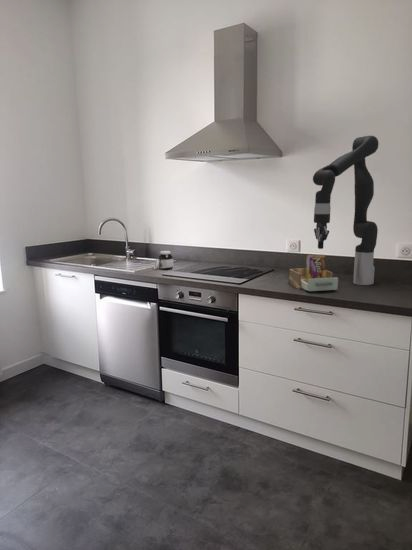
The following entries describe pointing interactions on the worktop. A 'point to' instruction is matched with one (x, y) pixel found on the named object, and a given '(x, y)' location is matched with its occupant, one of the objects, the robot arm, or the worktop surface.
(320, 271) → the candy box
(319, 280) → the white boxy piece
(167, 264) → the spread jar
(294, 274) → the caddy
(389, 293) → the worktop surface
